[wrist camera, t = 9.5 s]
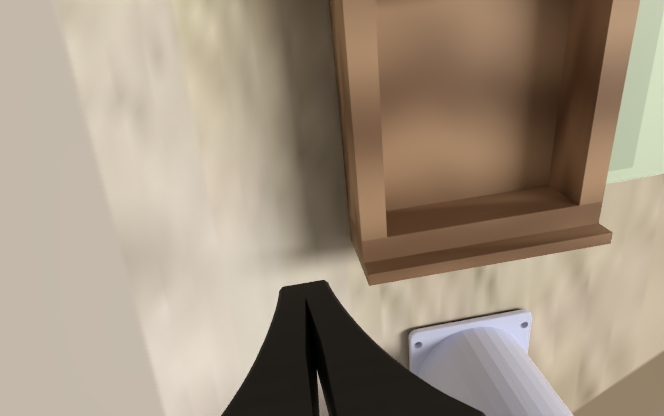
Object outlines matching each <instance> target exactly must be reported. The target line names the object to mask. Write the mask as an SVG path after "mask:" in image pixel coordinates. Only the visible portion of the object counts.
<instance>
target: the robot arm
mask: <svg viewBox="0 0 664 416" xmlns="http://www.w3.org/2000/svg"><path fill="white" fill-rule="evenodd" d="M523 322H524V323H523ZM531 322H532V314H531V313H530V312H529V311H528V310H526V309H522V310H516V311H511V312H506V313H500V314H495V315H490V316H484V317H479V318H473V319H468V320H463V321H457V322H452V323H447V324H441V325H436V326H431V327H425V328H420V329H415V330H413V331H411V332H410V334H409V366H410V371H409V370H408V369H406V368H405V367H404V366H402V365H401V364H400V363H399V362H397V361H396V360H395V359H393V358H392V357H391V356H390V355H389V354H388V353H386V352H385V351H384V350H383V349H382V348H381V347H380V346H379V345H377V344H376V343H375V342H374V341H373V340H372V339H371V338H370V337H369V336H368V335H367V334H366V333H365V332H364V331H363V330H362V328H361V327H360V326H359V325H358V324H357V323H356V322H355V321H354V319H353V318H352V317H351V316H350V315H349V313H348V312H347V311H346V310H345V308H344V307H343V306H342V305H341V303H340V302H339V300H338V299H337V298H336V296H335V295H334V293H333V291H332V290H331V288H330V286H329V284H328V282H326V281H325V280H320V281H314V282H309V283H303V284H297V285H291V286H285V287H282V288H281V290H280V291H279V298H278V302H277V306H276V310H275V313H274V316H273V319H272V322H271V325H270V328H269V330H268V333H267V336H266V338H265V340H264V343H263V345H262V347H261V349H260V351H259V354H258V356H257V358H256V360H255V362H254V364H253V366H252V368H251V370H250V371H249V373H248V375H247V377H246V378H245V380H244V382H243V384H242V385H241V387H240V389H239V390H238V392H237V393H236V395H235V396H234V398H233V399H232V401H231V402H230V404H229V405H228V407H227V408H226V410H225V411H224V412H223V414H222V415H221V416H319V400H318V383H317V371H318V375H319V379H320V383H321V386H322V390H323V394H324V398H325V401H326V405H327V409H328V413H329V416H573V414H572V413H571V412H570V410H569V409H568V408H567V406H566V405H565V404H564V402H563V401H562V400H561V398H560V397H559V396H558V394H557V393H556V392H555V390H554V389H553V388H552V386H551V385H550V384H549V382H548V381H547V380H546V378H545V377H544V376H543V374H542V373H541V372H540V370H539V369H538V368H537V366H536V365H535V364H534V362H533V361H532V360H531V359H530V357H529V356H528V355H527V353H528V345H529V337H530V329H531ZM522 323H523V324H522ZM417 342H419V343H418V344H415V343H417Z"/></svg>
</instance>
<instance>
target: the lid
mask: <svg viewBox="0 0 664 416" xmlns="http://www.w3.org/2000/svg"><path fill="white" fill-rule="evenodd" d="M659 174H664V0H640V5H639V10H638V15H637V21H636V26H635V31H634V37H633V42H632V47H631V52H630V58H629V63H628V68H627V74H626V79H625V84H624V90H623V95H622V100H621V106H620V111H619V116H618V122H617V127H616V132H615V138H614V143H613V148H612V154H611V159H610V164H609V170H608V175H607V180H606V184H608V183H614V182H619V181H625V180H631V179H636V178H642V177H648V176H653V175H659Z"/></svg>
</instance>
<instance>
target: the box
mask: <svg viewBox="0 0 664 416" xmlns="http://www.w3.org/2000/svg"><path fill="white" fill-rule="evenodd" d="M639 5H640V0H329V6H330V17H331V28H332V38H333V49H334V60H335V71H336V81H337V92H338V103H339V114H340V124H341V135H342V146H343V157H344V167H345V178H346V189H347V200H348V211H349V221H350V232H351V240H352V243H353V245H354V248H355V250H356V253H357V255H358V258H359V261H360V263H361V266H362V268H363V271H364V274H365V276H366V279H367V281H368V284H369V286H371V285H376V284H382V283H388V282H393V281H399V280H405V279H410V278H416V277H422V276H428V275H433V274H439V273H445V272H450V271H456V270H462V269H468V268H473V267H479V266H485V265H490V264H496V263H502V262H507V261H513V260H519V259H525V258H530V257H536V256H542V255H547V254H553V253H559V252H564V251H570V250H576V249H582V248H587V247H593V246H599V245H604V244H610V243H611V238H612V232H611V231H609V230H608V229H606V228H605V227H603V226H602V225H600V224H599V217H600V212H601V207H602V201H603V196H604V191H605V185H606V180H607V175H608V170H609V164H610V159H611V154H612V148H613V143H614V138H615V132H616V127H617V122H618V116H619V111H620V106H621V100H622V95H623V90H624V84H625V79H626V74H627V68H628V63H629V58H630V52H631V47H632V42H633V37H634V31H635V26H636V21H637V15H638V10H639Z"/></svg>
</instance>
